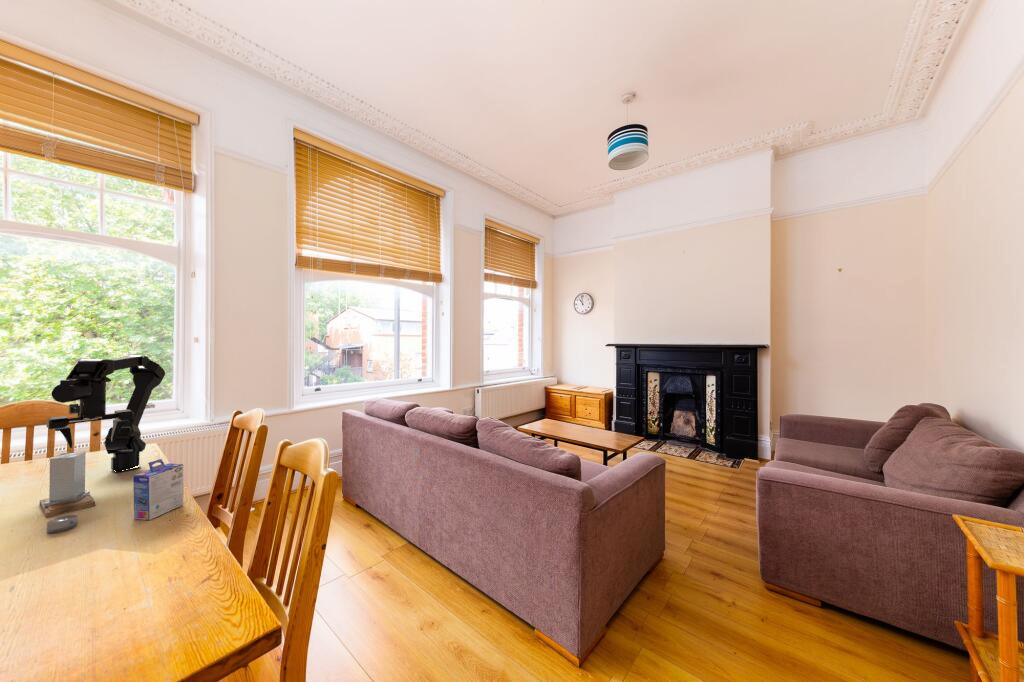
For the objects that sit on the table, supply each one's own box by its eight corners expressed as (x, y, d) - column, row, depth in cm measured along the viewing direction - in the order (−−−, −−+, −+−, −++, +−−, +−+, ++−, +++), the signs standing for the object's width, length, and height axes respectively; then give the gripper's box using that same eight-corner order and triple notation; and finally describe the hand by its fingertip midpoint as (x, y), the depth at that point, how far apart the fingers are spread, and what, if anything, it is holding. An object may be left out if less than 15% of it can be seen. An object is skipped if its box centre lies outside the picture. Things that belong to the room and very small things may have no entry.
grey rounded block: (74, 522, 100) (75, 513, 100) (79, 528, 97) (79, 518, 97) (45, 530, 96) (45, 520, 96) (48, 536, 93) (48, 526, 93)
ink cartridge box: (168, 503, 112) (168, 455, 112) (184, 504, 111) (185, 456, 111) (131, 519, 102) (132, 466, 102) (149, 521, 101) (150, 467, 101)
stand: (86, 493, 116) (86, 489, 116) (95, 505, 109) (95, 500, 109) (39, 504, 109) (39, 499, 109) (46, 517, 101) (46, 512, 101)
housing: (59, 496, 110) (60, 452, 110) (89, 493, 113) (90, 450, 113) (43, 506, 104) (44, 459, 104) (75, 502, 107) (76, 457, 107)
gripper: (126, 391, 135) (125, 434, 135) (44, 397, 120) (43, 446, 120) (135, 395, 129) (134, 440, 129) (49, 402, 114) (48, 453, 114)
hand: (92, 444), depth 123 cm, fingers open, 9 cm apart
